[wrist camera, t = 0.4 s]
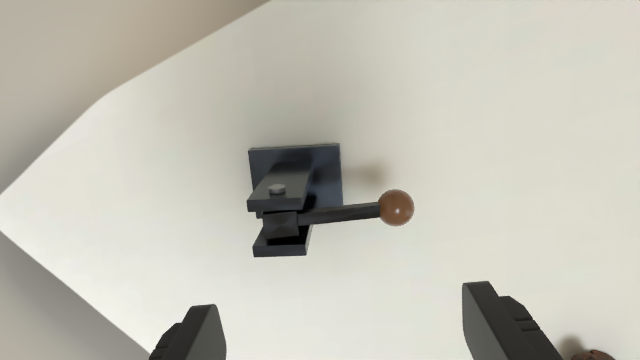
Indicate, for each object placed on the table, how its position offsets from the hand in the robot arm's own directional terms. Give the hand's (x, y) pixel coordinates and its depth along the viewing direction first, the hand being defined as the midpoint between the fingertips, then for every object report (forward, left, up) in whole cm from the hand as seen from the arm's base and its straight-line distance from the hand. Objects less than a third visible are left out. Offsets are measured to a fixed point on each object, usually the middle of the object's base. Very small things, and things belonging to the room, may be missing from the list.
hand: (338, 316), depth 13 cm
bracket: (+4, -6, -32) cm, 33 cm away
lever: (+4, -1, -22) cm, 23 cm away
